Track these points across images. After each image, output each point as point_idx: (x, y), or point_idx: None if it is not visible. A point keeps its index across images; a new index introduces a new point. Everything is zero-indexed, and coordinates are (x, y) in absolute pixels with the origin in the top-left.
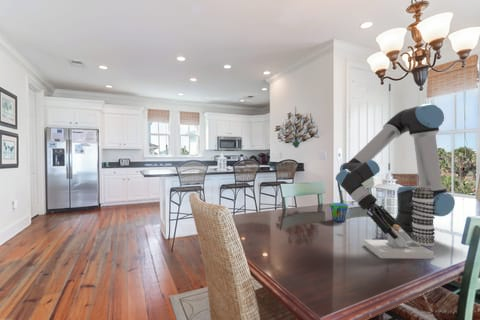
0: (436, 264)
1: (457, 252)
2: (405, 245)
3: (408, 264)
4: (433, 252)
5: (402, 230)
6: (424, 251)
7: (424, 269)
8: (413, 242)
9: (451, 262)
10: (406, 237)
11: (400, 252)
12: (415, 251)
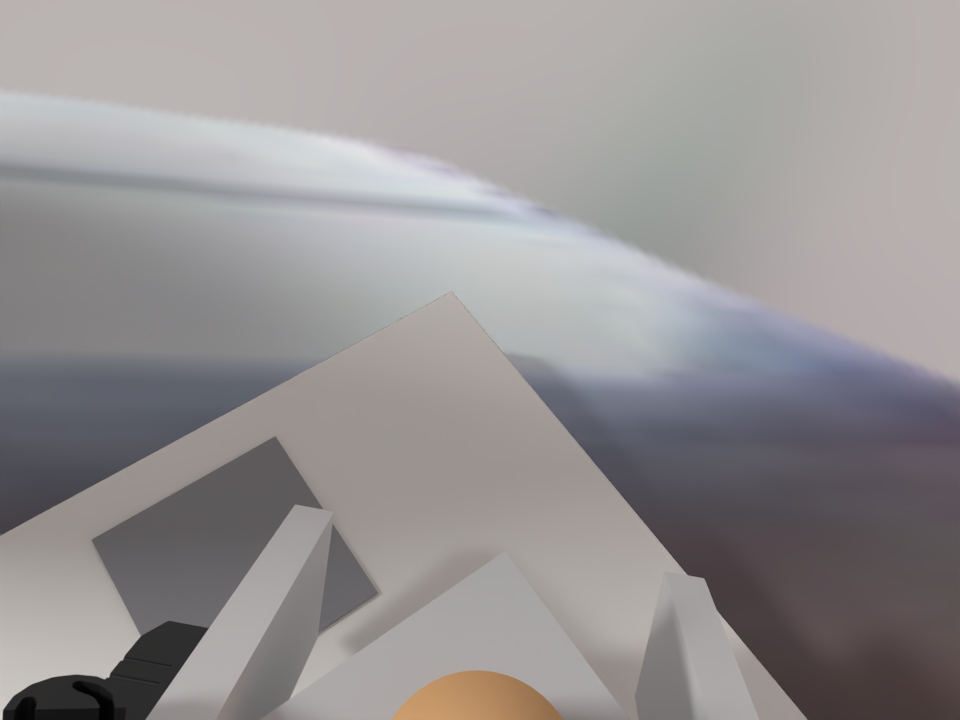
0: (641, 329)
1: (33, 130)
2: (340, 655)
3: (911, 605)
4: (453, 297)
5: (415, 617)
6: (500, 388)
7: (917, 437)
8: (60, 536)
9: (459, 207)
10: (311, 592)
11: (796, 708)
12: (591, 495)
